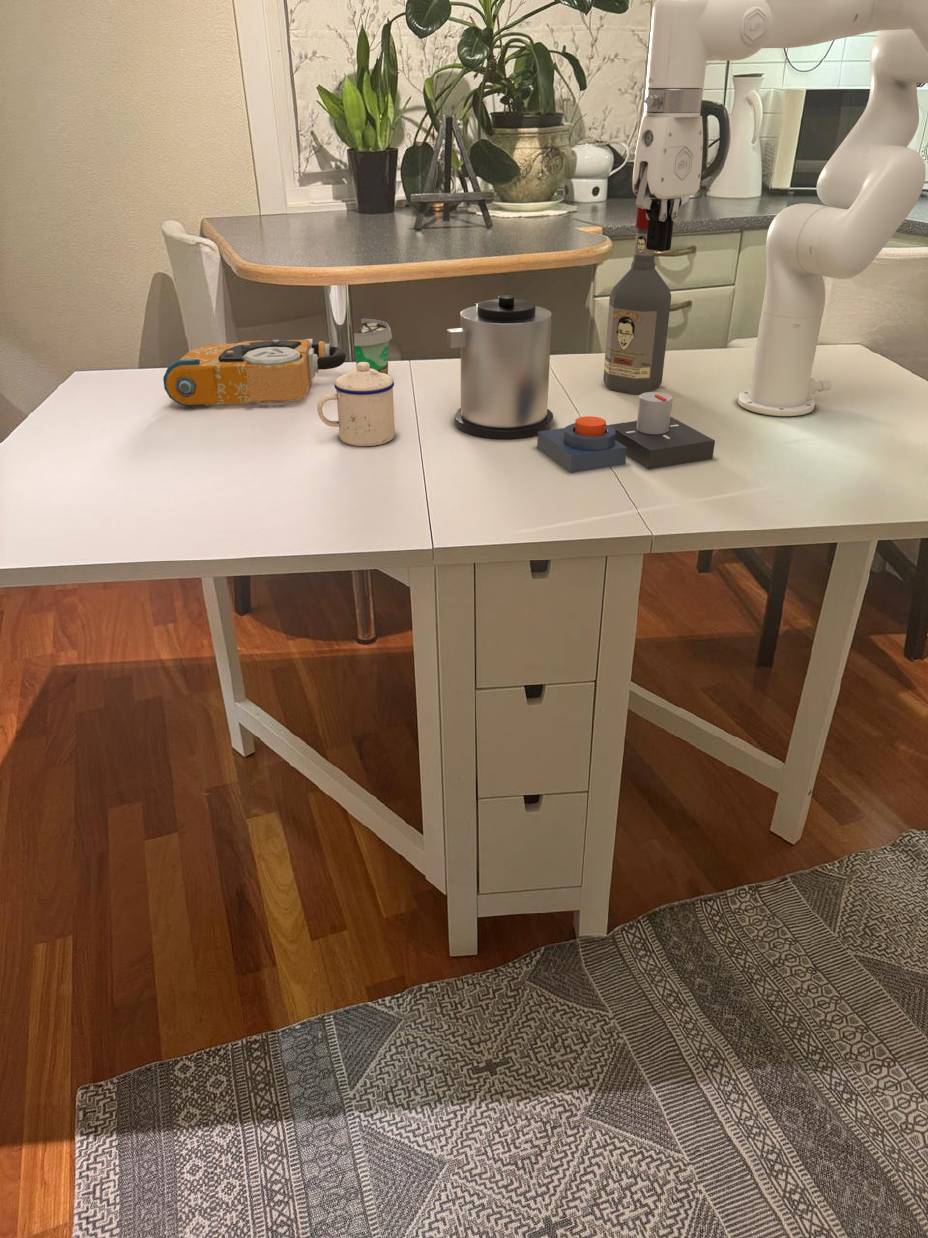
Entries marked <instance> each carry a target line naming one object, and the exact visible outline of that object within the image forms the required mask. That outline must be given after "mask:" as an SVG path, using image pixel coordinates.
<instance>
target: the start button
mask: <svg viewBox="0 0 928 1238" xmlns="http://www.w3.org/2000/svg"><path fill="white" fill-rule="evenodd" d="M574 423H575V433H576V434H579V435H583V436H600V435H604V434H605V429H606V425H607V421H606V419H604V418H602V417H599V416H593V415H587V416H585V415H584V416H579V417H577V418H576V419H575V421H574Z"/></svg>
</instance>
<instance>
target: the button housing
mask: <svg viewBox="0 0 928 1238" xmlns="http://www.w3.org/2000/svg"><path fill="white" fill-rule="evenodd" d="M609 425H610V424H606V429H605V434H604V435H600V436H583V435H579V434H576V433H575V422H574V423H570V424H568V425H566V426H565V427H560V428H554V429H550V430H546V431H539V432H538V436H537V438H536V439H537V441H536V442H537V443H536V449H538V450H539V451H540V452H541V453H543V454H544V455H545V456H546V457H548V458H550V459H551V460H552V461H553V462H555V463H556V464H557V465H559V466H560V467H561V468H562V469H564V470H565V471H567V472H568V473H569V474H574V473H581V472H588V471H592V470H593V471H594V470H598V469H606V468H612V467H619V466H625V465H626V463H627V462H626V461H627V456H626V452H627V447H625V446H624V445H622V444H621V443H619V442H618V441H616V440H615V429H614V428H612V427H611V426H609Z"/></svg>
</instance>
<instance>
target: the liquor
mask: <svg viewBox="0 0 928 1238" xmlns="http://www.w3.org/2000/svg"><path fill="white" fill-rule="evenodd" d="M648 222H649V220H647V219H646V211H645V209H642V208H639V207H637V209H636V221H635V228H636V230H635V241H634V249H633V260H632V262H631V265H630V269H629V270H628V271H627V272H626V273H625V274H624V275H623V276H622V278H620V280H619V281H618V282H616V284H615V285H614V286H613V287H612V289H611V291H610V294H609V301H608V313H607V326H606V327H607V328H606V341H605V352H604V353H605V354H604V367H603V384H604V386H605V387H606V388H607V389H608V390H609V391H612V392H613V391H614V392H619V393H623V394H624V393H625V394H629V395H641V394H642V393H646V392H654V390H657V389H658V388H659V387H660V386H661V385H662V382H663V377H664V376H663V375H664V366H665V357H666V350H667V349H666V347H667V338H668V330H669V321H670V311H671V304H672V294H671V289H670V287H669V286H668V284H667V283H666V281H665V280H664V279H663V278H662V276H661V275H660V274H659V272H658V271H657V269H656V261H655V255H656V251H655V250H648V249H647V248H646V243H647V232H648Z"/></svg>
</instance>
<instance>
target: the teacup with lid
mask: <svg viewBox="0 0 928 1238" xmlns="http://www.w3.org/2000/svg"><path fill="white" fill-rule="evenodd" d="M333 386H334V389H335V392H336V393H329V394H325V395H323V396H322V397H320V399H319V400H318V402H317V406H316V411H317V415H318V417H319V419H320V420H321V421H322V422H323V424H325V425H326V426H328V427H333V428H338V430H339V431H338V432H339V439H340V440H341V441H342V442H343V443H344V444H346V445H347V444H348V445H350V446H356V447H374V446H380V445H383V444H386V443H389V442H391V441H392V440H394V438H395V436H396V432H395V431H396V430H395V429H396V427H395V409H394V408H395V406H394V387H395V382H394V379H393V378H392V376H391V375H389V374H388V375H387V374H384V373H380V372H378V371H376V370H374V369H371V368H370V364H369V363H367V362H359V363H358V364H357V366H356V368H353V369H352V370H351V371H349V372H348V373H344V374H341V375H339V376H338V377H337V378H336V379H335V381H334V384H333ZM333 400H336V405H337V407H336V408H337V418H338V420H330V419H328V418H326V417H325V416H324V412H323V406H324V405H325V404H326V402H329V401H333Z"/></svg>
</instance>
